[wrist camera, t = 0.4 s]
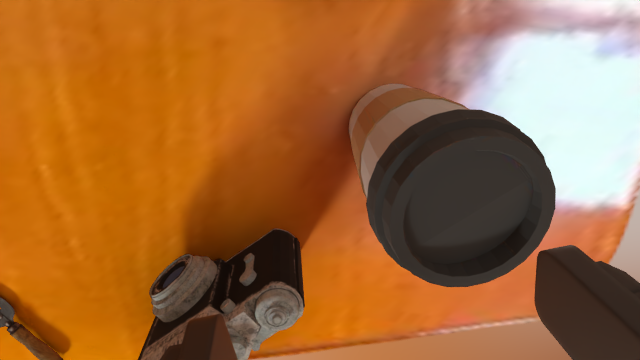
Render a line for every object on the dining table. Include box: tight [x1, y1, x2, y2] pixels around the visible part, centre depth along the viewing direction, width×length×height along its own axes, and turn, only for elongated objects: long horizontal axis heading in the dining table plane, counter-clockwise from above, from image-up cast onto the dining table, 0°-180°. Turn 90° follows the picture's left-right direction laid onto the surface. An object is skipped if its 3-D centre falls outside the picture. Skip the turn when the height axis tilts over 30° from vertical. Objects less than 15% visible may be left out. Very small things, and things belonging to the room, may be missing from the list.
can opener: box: [0, 297, 63, 360], centre depth 35 cm, size 9×2×1 cm, turn 25°
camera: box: [138, 229, 305, 360], centre depth 31 cm, size 15×7×10 cm, turn 126°
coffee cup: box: [349, 84, 555, 287], centre depth 24 cm, size 8×8×15 cm
